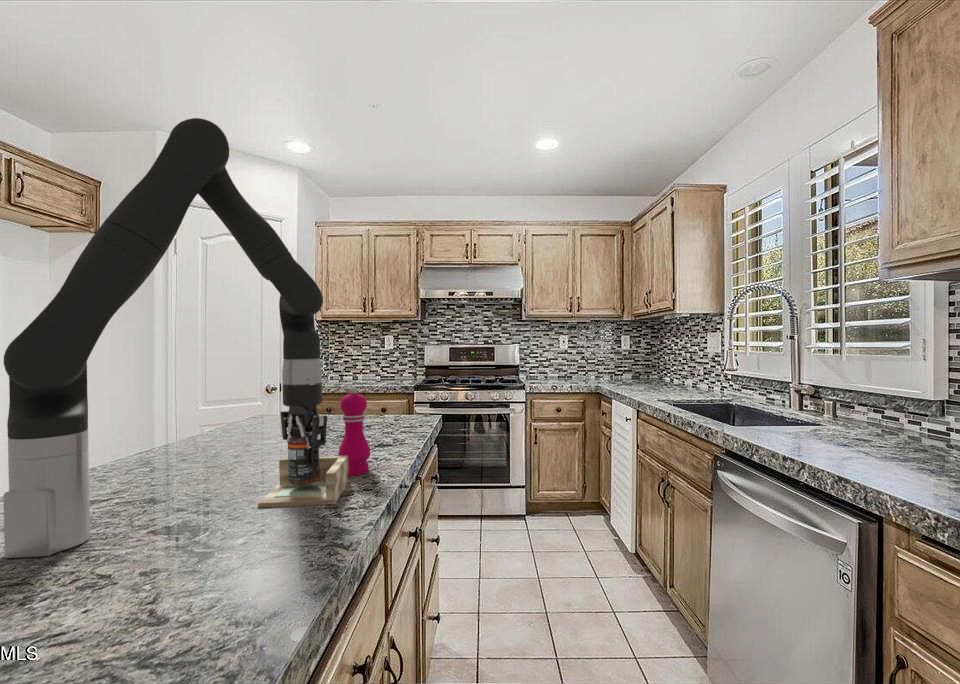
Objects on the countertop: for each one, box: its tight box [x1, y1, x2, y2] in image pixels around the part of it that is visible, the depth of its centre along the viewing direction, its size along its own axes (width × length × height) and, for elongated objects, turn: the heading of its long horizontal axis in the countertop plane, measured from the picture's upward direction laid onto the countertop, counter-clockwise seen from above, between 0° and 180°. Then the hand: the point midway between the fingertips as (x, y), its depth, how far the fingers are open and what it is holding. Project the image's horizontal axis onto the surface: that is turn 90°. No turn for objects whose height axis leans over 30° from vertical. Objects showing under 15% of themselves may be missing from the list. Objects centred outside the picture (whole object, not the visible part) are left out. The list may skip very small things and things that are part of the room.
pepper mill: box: [337, 386, 371, 477], centre depth 113 cm, size 7×7×20 cm
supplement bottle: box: [287, 426, 320, 485], centre depth 97 cm, size 6×6×11 cm
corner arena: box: [257, 455, 350, 509], centre depth 97 cm, size 14×14×6 cm
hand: (303, 463), depth 97 cm, fingers closed on supplement bottle, 6 cm apart
